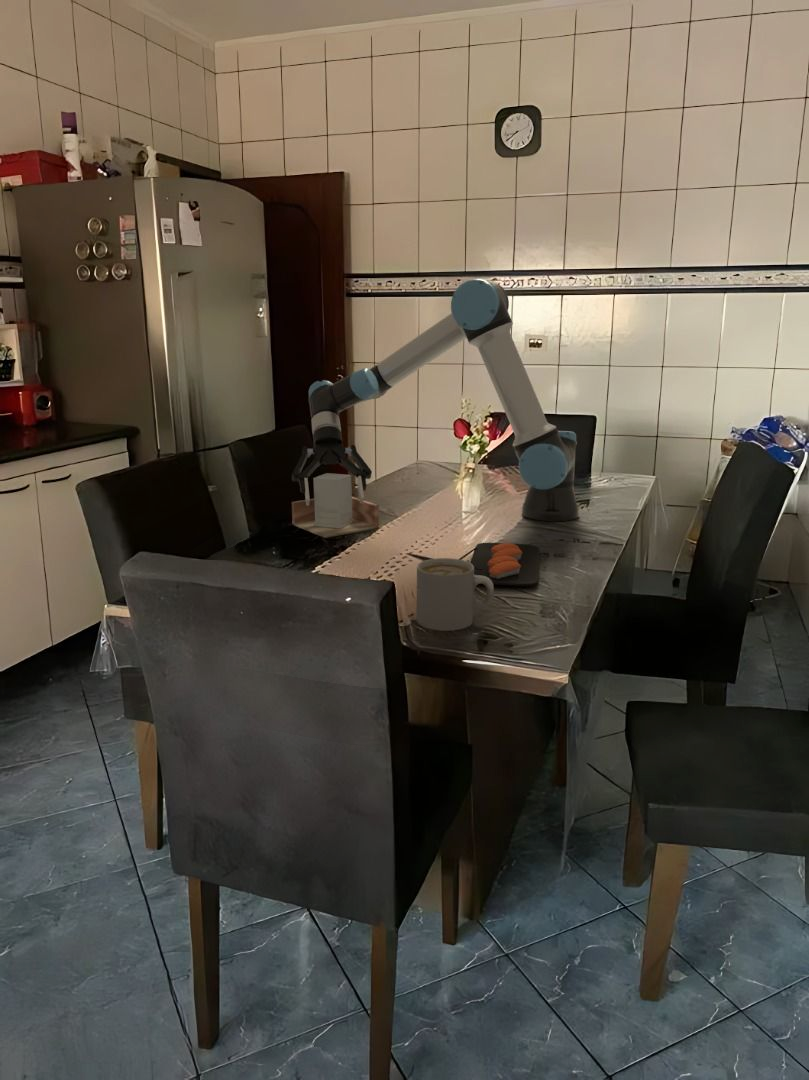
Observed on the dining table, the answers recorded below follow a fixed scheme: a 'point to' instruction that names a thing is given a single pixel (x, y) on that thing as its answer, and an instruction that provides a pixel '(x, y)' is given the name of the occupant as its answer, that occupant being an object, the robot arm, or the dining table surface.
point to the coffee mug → (449, 594)
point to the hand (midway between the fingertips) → (335, 501)
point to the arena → (362, 519)
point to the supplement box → (333, 500)
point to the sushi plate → (505, 563)
